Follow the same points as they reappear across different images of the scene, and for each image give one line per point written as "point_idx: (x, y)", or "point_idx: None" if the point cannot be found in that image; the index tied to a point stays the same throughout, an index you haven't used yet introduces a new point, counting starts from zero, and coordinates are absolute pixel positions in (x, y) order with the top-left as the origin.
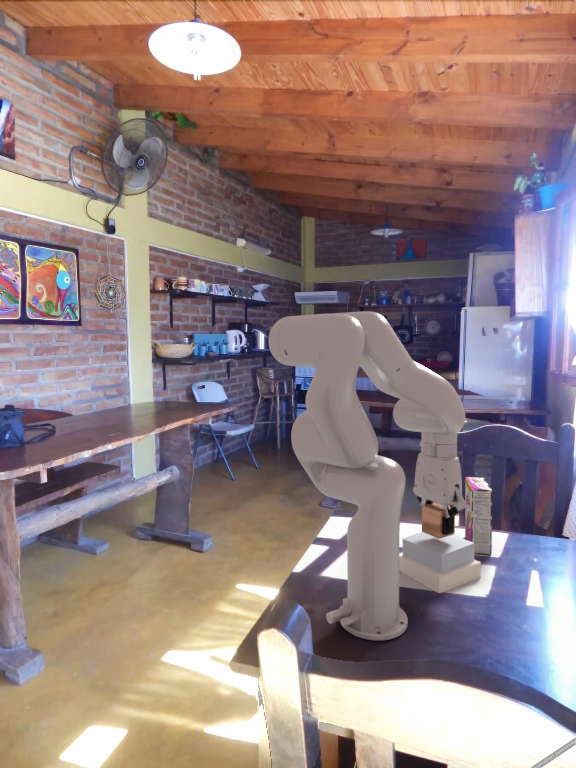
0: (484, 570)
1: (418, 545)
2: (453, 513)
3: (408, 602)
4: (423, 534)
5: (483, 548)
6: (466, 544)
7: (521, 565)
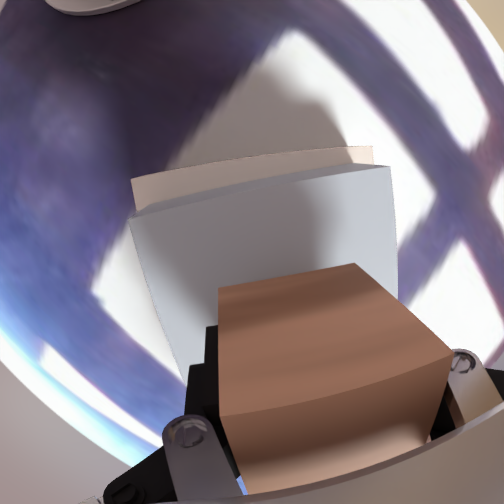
0: None
1: (285, 183)
2: (135, 470)
3: (142, 55)
4: None
5: None
6: None
7: None
